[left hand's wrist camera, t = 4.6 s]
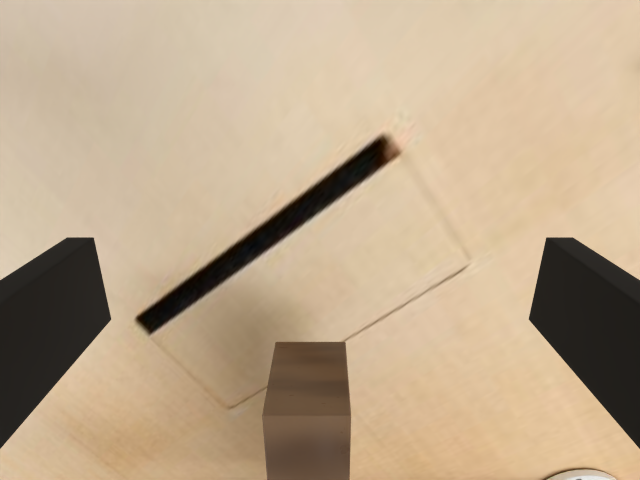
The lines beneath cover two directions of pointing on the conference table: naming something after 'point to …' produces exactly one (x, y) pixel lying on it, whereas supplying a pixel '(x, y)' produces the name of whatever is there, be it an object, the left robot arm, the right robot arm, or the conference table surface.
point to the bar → (308, 412)
